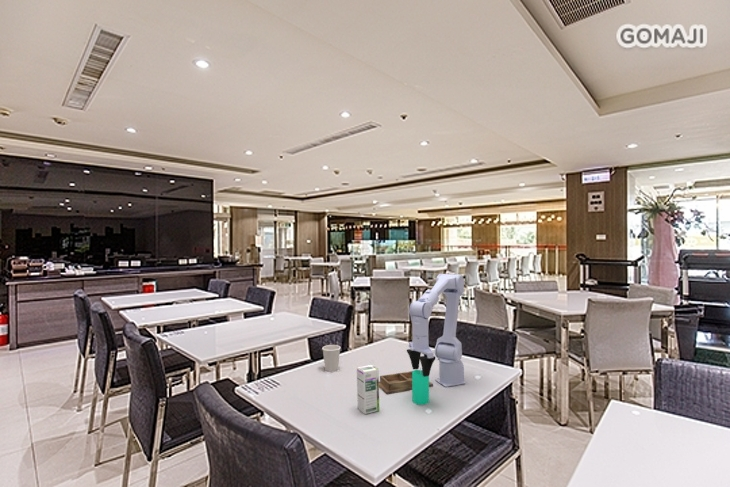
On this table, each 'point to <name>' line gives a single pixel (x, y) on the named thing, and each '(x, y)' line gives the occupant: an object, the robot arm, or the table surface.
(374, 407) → the syrup box
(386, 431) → the table surface
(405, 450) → the table surface
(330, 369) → the dixie cup
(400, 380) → the divided wooden tray
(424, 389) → the candle
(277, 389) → the table surface
